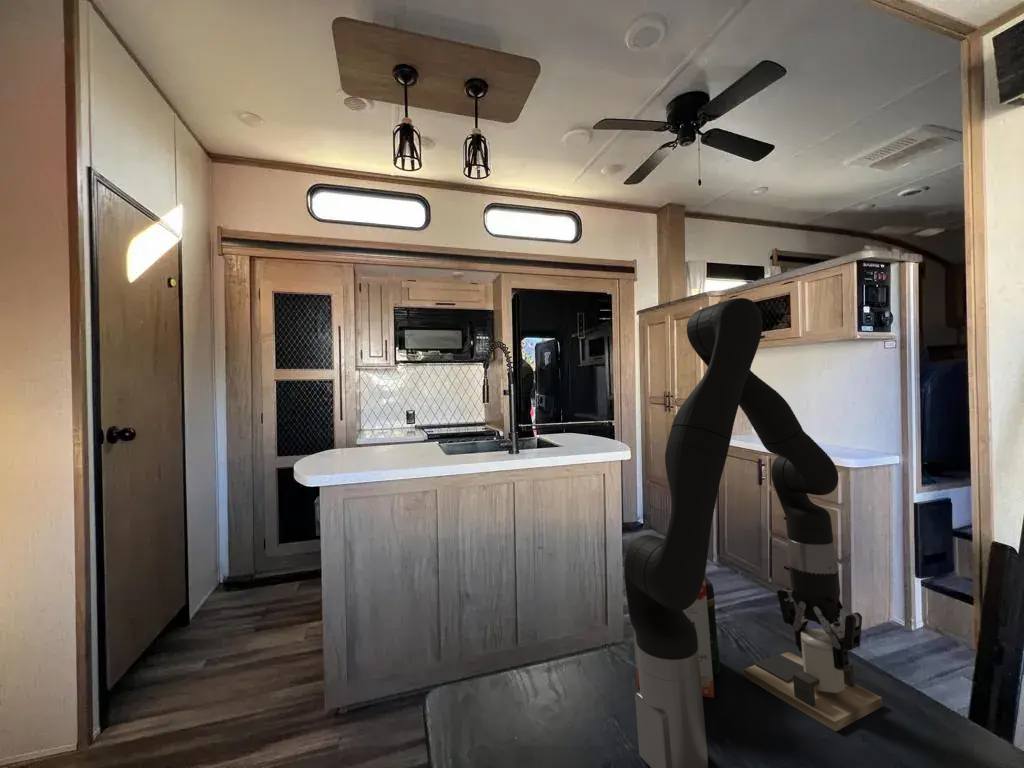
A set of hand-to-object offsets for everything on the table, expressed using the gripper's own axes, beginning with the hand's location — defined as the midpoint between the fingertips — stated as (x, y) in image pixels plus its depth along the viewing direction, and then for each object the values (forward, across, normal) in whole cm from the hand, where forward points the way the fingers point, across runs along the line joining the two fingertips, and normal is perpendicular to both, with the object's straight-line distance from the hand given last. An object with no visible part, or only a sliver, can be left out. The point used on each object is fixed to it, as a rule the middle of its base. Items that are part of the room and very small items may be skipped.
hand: (822, 659), depth 80 cm
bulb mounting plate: (+7, -3, 0) cm, 8 cm away
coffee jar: (+7, -19, -11) cm, 23 cm away
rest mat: (+6, -8, 0) cm, 10 cm away
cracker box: (+7, -16, -20) cm, 27 cm away
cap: (+4, 0, 0) cm, 4 cm away
